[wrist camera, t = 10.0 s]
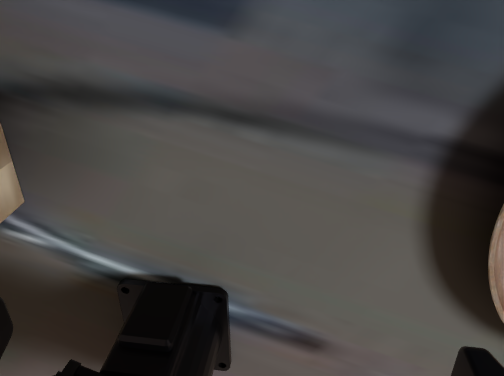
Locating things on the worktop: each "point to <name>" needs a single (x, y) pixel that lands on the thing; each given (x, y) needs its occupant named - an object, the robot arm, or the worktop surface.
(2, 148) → the socket block
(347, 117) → the worktop surface
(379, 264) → the worktop surface
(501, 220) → the plant saucer
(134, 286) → the robot arm
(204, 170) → the worktop surface
